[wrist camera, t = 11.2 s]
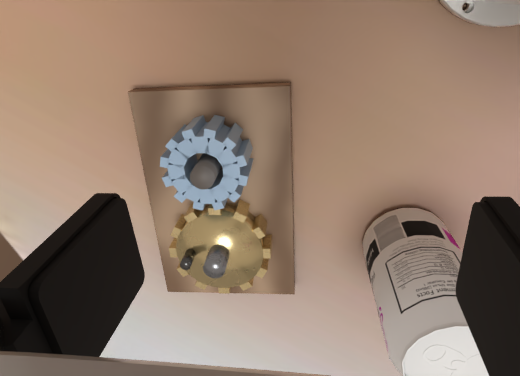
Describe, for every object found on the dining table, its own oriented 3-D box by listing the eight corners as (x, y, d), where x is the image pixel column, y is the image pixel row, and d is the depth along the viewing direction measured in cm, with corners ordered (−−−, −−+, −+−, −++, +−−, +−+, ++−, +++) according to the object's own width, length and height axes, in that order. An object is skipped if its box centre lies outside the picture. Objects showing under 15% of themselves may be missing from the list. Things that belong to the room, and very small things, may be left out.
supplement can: (463, 227, 38) (553, 352, 24) (411, 284, 41) (464, 420, 28) (393, 189, 37) (447, 299, 23) (346, 251, 40) (368, 377, 27)
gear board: (290, 82, 33) (288, 100, 28) (294, 285, 43) (293, 329, 37) (134, 88, 35) (101, 106, 29) (171, 282, 44) (152, 325, 39)
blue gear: (250, 113, 33) (244, 127, 30) (255, 189, 37) (250, 210, 33) (168, 116, 34) (153, 129, 31) (180, 190, 37) (167, 210, 34)
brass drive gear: (269, 195, 37) (265, 222, 32) (274, 278, 41) (270, 312, 36) (169, 196, 38) (151, 222, 33) (183, 276, 42) (169, 309, 38)
